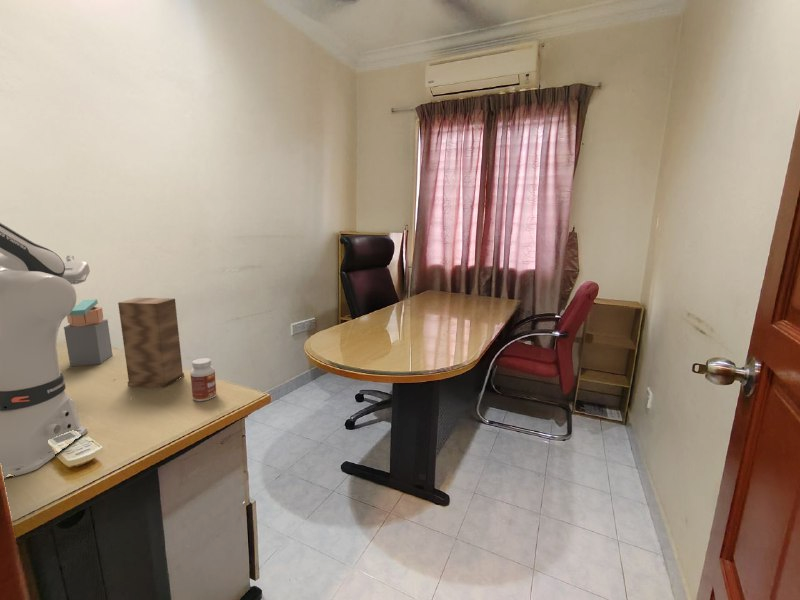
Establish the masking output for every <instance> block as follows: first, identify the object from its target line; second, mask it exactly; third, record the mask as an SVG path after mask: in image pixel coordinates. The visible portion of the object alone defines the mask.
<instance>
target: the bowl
mask: <svg viewBox="0 0 800 600" xmlns="http://www.w3.org/2000/svg"><path fill="white" fill-rule="evenodd" d="M66 319H67V323H69V325H70V326H74V327H80V326H90V325H95V324H99V323H102V322H103V320H104V314H103V307H102V306H101V307H100V306H94V307H93V308H92V309H91V310H90V311H89V312H88V313H87V314H86V315H74V316H70V315H69V314H68V315H67V316H66Z"/></svg>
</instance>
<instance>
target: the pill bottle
mask: <svg viewBox="0 0 800 600" xmlns="http://www.w3.org/2000/svg"><path fill="white" fill-rule="evenodd" d="M191 363H192V364H191V365H192V369H190V375H189V376H190V383H191V393H192V395H191V396H192V400H194V401H196V402H204V401H209V399H210V400H212V399H214V398H215V397H216V396H217V385H216V384H217V383H216V382H217V381H216V371H215V368H214V366H212V360H211V358H208V357H207V358H206V357H203V358H202V357H201V358H197V359H194V360H192V362H191ZM213 397H214V398H213ZM211 398H212V399H211Z"/></svg>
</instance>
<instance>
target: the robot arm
mask: <svg viewBox="0 0 800 600" xmlns="http://www.w3.org/2000/svg"><path fill="white" fill-rule="evenodd" d="M0 254H2V255H0V463H1V465H2V472H3V476H4V479H7V478H6V476H7V475H8V474H11V475H15V476H14V477H17V476H20V475H24V474H27V473H31V472H33V471H36V470H38V469H40V468H41V467H42V466H44V465H45V464H46V463H48V462H49V461H50V460H52V459H53V458H54V457H56V456H55V452H54V450H53V449H52V447H51V446H50V445H49V444H48V440H49V439H52V438H54V437H56V436H59V435H61V434H64V433H66V432H69V431H72V430H74V431H77V432H79V434H81V435H83V436H85V435H86V434H87V433H88V427H86V426H84V425H81V424H82V423H81V420H80V418H79V414H78V411H77V407H76V404H75V401H74V400H73V399H72V398H71V397H70V396H69V395H68V394H67V393H66V391H65V390H66V389H67V388H66V379H65V378H64V374H63V373H62V372H61V369H60V368H61V367H60V363H59V356H58V349H57V341H58V335H59V331H60V327H61V324H62V323H63V321H64V319H65V318H67V315H68V314H70V313H71V311H72V310H73V308H74V307H75V306H76V303H77V292H76V290H75V289H76V288H75V287H74V285H79V284H81V283H84V282H86V280H87V277H88V276H89V274H90V271H91V270H90V267H89V264H88V262H87V261H83V260H81V261H76V260H75V257H74V255H66V257H65V261H63V260H62V258H61V257H60V256H59V254H57V253H56V252H54V251H52V250H51V249H49V248H47V247H45V246H42V245H41V244H37V243H35V242H33V241H32V240H29V239H28V238H26V237H24V236H23V235H21V234H20V233H18V232H16V231H15V230H13V229H11V228H10V227H8V226H6V225H5V224H3V223H1V222H0Z"/></svg>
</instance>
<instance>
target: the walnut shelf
mask: <svg viewBox="0 0 800 600" xmlns="http://www.w3.org/2000/svg"><path fill="white" fill-rule="evenodd" d="M117 305H118V314H119V317H120V326H121V334H122V340H123V343H122V344H123V347H124V348H123V349H124V355H125V363H126V370H127V378H128V381H127V382H126V383H127V386H128V387H142V388H143V387H145V388H146V387H148V388H149V387H150V388H163V389H164V388H167V387H169V386H170V385H172V384H173V382H174V383H175V382H176V380H177V379H178V380H180V379H181V378H180V377H182V376H183V377H185V372H183V362H182V361H183V360H182V354H181V353H182V352H181V343H180V334H179V332H180V331H179V322H178V316H177V315H178V313H177V304H176V298H165V297H136V298H132V299H127V300H123V301H119V302H117ZM183 377H182V378H183ZM179 378H180V379H179ZM178 380H177V381H178ZM168 385H169V386H168Z"/></svg>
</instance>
